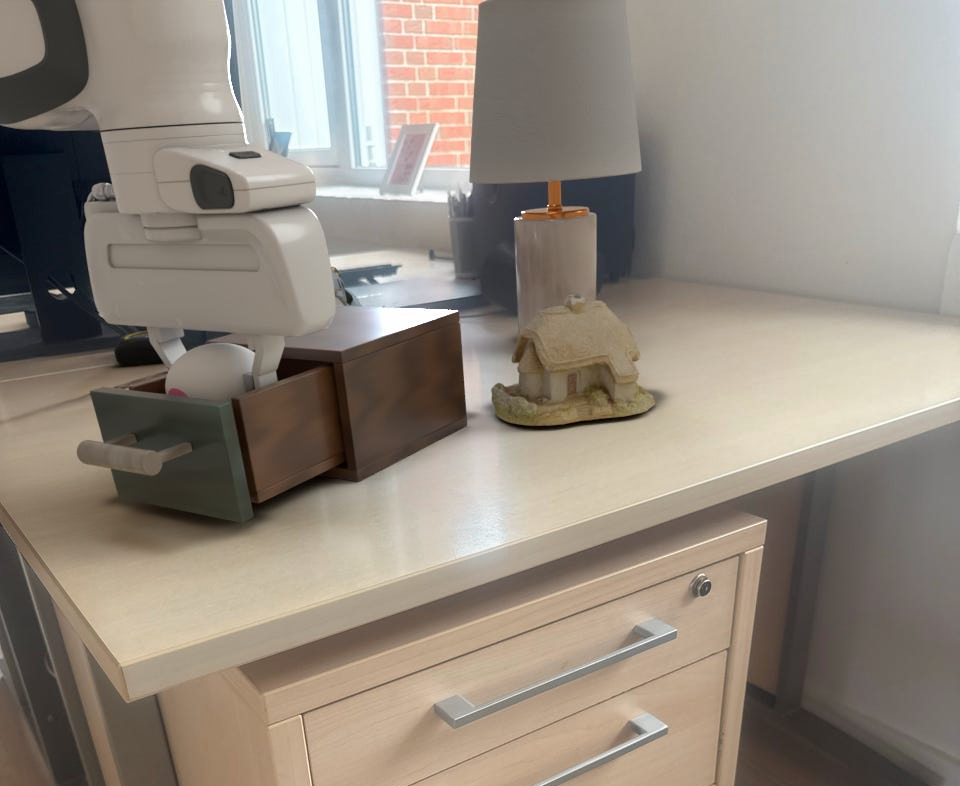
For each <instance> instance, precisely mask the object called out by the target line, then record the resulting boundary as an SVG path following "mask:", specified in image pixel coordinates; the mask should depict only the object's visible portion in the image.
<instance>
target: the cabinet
mask: <svg viewBox="0 0 960 786" xmlns="http://www.w3.org/2000/svg"><path fill="white" fill-rule="evenodd" d="M460 318H461V317H460V310H451V309H449V310H448V309H429V308H428V309H426V308H404V307H403V308H401V307H379V306H363V307H358V306H336V310H335V314H334V316H333V319H332V321H331V323H330V325H329V327H328V328H327V329H325V330H322V331H319V332H316V333H313V334H309V335H305V336H302V337H286V336H284V342H285V346H284V350H283V353H282V356H281V359H292V360H305V361H317V362H329V363H333V365H334V372H335V379H336V386H337V394H338V401H339V408H340V415H341V422H342V429H343V437H344V444H345V451H346V458H347V461H346V462H343V463H341V464H339V465H337V466H335V467H333V468H331V469H329V470H327V471H325V472H323V473H321V474H319V475H318V476H321V477H327V478H333V479H339V480H347V481H352V482H361V481H363V480H364V479H366V478H368V477H370V476H372V475H374V474H376V473H378V472H380V471H382V470H383V469H385V468H388V467H390V466H392V465H393V464H395V463H397V462H399V461H401V460H403V459H405V458H407V457H408V456H409V457H410V456H411V455H412V454H414V453H416V452H419V451H420V450H422V449H424V448H426V447H428V446H430V445H432V444H434V443H435V442H437V441H439V440H441V439H443V438H445V437H447V436H449V435H451V434H453V433H455V432H457V431H458V430H459V431H460V430H461V429H463V428H464V427H466V426H468V416H467V414H468V413H467V400H466V387H465V371H464V359H463V356H464V355H463V344H462V343H463V342H462V330H461V329H462V328H461V319H460ZM211 343H230V344H235V345H239V346H242V347H245V348H247V349H249V348H248V343H247V338H246V334H243V333H230V334H227V335H223V336H222V335H221V336H219V337H215V338H212V339H208V340H206V341H205V345H206V344H211ZM249 350H250V349H249ZM251 351H253V352H254V353H255V350H251Z"/></svg>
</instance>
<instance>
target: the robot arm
mask: <svg viewBox="0 0 960 786" xmlns="http://www.w3.org/2000/svg"><path fill="white" fill-rule="evenodd" d="M231 45H232V40H231V34H230V27H229V23H228V16H227V11H226V7H225V1H224V0H0V126H2V127H5V128H6V127H7V128H12V129H16V130H17V129H18V130H33V131H34V130H45V131H46V130H47V131H54V132H65V131H66V132H67V131H68V132H69V131H70V132H71V131H89V132H93V133H99V134H100V138H101V142H102V145H103V151H104V154H105V158H106V163H107V168H108V172H109V176H110V181H111V183H109V182H99V183H96V184H94V185H93V186H91V192H90V193H89V194H88V196H87V198H86V202H84V205H83V209H84V210H83V211H84V216H85V220H86V221H85V224H84V230H83V237H84V250H85V255H86V257H85V258H86V263H87V269H88V276H89V281H90V287H91V292H92V296H93V301H94V305H95V308H96V310H97V311H98V312H99V314H100V315H101V317H102V318H103V319H104V321H105V323H107V324H110V325H117V326H131V327H145V328H146V331H148V336H149V340H150V343H151V344H152V346H153V347H154V349H155V350H156V352H157V353H158V355H159V356H160V358H161V359H162V361H163V362H164V363H163V364H164V366H165V367H166V368H167V367H168V368H169V369H170V368H171V366H172V365H173V363H174V362H175V361H176V360H177V359H178V358H179V357H180V356H182V355H183V354H184V353H186V352H188V350H186V348H185V345H184V344H183V342H182V339H181V338H184V337H185V331H184V330H189V331H203V332H215V333H216V332H217V333H230V334H233V333H243V334H246V338H247V343H248V348H249V349H250V350H255V356H254V361H253V367H252V372H248V373H245V374H243V378H244V383H245V385H246V387H247V388H246V393H247V392H249V391H252V390H255V389H258V388H261V387H264V386H266V385H269V384H272V383H275V382H278V381H277V374H276V370H277V368H278V365H279V362H280V359H281V356H282V353H283V350H284V346H285V342H284V336H286V337H302V336H305V335H309V334H313V333H316V332H319V331H322V330H325V329H327V328H328V327H329V325H330V323H331V321H332V319H333V316H334V314H335V310H336V302H335V292H334V283H333V277H332V270H331V267H332V265H331V259H330V254H329V249H328V244H327V240H326V239H327V238H326V235H325V231H324V229H323V226H322V223H321V221H320V220H319V218H318V216H317V215H316V213H314V212H313V210H311V209H310V208H309V207H307V206H304V205H306V204H310V203H313V202H314V201H315V199H316V196H317V185H316V179H315V174H314V172H313V170H312V169H311V167H309V166H308V165H306V164H304V163H302V162H299V161H296V160H294V159H292V158H289V157H286V156H284V155H281V154H279V153H276V152H275V151H272V150H270V149H267V148H265V147H263V146H261V145H259V144H256V143H254V142H248V139H247V132H246V127H245V123H244V122H245V121H244V115H243V112H242V110H241V108H240V105H239V103H238V101H237V98H236V96H235V93H234V90H233V89H234V88H233V85H232V81H231V72H230V62H231V61H230V59H231V50H232V49H231V48H232V46H231ZM95 199H96V200H95ZM168 368H167V372H168V371H169V369H168Z"/></svg>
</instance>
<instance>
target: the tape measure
mask: <svg viewBox="0 0 960 786" xmlns="http://www.w3.org/2000/svg"><path fill="white" fill-rule="evenodd" d="M113 352H114V353H113V354H114V358H115V360H116V362H117V363H118V365H119V366H122V367H128V368H129V367H136V366H137V367H138V366H148V365H155V364H157V365H158V364H164V362H163V361H162V359H161V358H160V356H159V355H158V353H157V352H156V350H155V349H154V347H153V346H152V344H151V343H150V340H149V336H148V331H147V330H144V331H137V332H136V331H135V332H131V333H128V334H124V335H123V336H120V337H119V338H118V339H117V342H116V346H115V348H114V351H113Z"/></svg>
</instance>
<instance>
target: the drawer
mask: <svg viewBox="0 0 960 786" xmlns="http://www.w3.org/2000/svg"><path fill="white" fill-rule="evenodd" d="M276 374H277V381H278V382H275V383H272V384H269V385H266V386H264V387H261V388H258V389H255V390H252V391H249V392H247V393H244V394H241V395H238V396H235V397H232V398H231V402H232V404H231V402H227V401H219V400H210V399H202V398H193V397H184V396H176V395H167V394H166V390H165V383H166V377H167V374H164V375H161V376H158V377H154V378H151V379H147V380H143V381H141V382H138V383H135V384H131V385H129V386H128V389H123V388H115V387H107V386H101V387H98V388H94V389H91V390H89V395H90V398H91V402H92V405H93V409H94V412H95V417H96V420H97V423H98V428H99V430H100V435H101V439H102V441H97V440H91V439H84V440H82V441H80V442H79V444H78V445H77V448H76V456H77V458H78V460H79V461H80V463H82V464H85V465H88V466H89V465H90V466H94V467H100V468H106V469H110V472H111V475H112V479H113V483H114V486H115V489H116V494H117V497H118V499H123V500H127V501H128V500H129V501H133V502H138V503H142V504H148V505H152V506H158V507H162V508H166V509H173V510H177V511H182V512H186V513H192V514H196V515H201V516H205V517H211V518H217V519H220V520H224V521H225V520H226V521H230V522H237V523H239V524H240V523H241V524H242V523H245V522H247V521H249V520H251V519H253V518H254V516H255V515H254V512H253V505H252V503H255V504H261V503H263V502H265V501H267V500H270V499H272V498H274V497H276V496H277V495H279V494H282V493H283V492H286V491H288V490H290V489H292V488H294V487H296V486H298V485H300V484H302V483H305V482H307V481H308V480H310V479H312V478H314V477H316V476H317V477H318V476H320V475H319V474H321V473H323V472H325V471H327V470H329V469H331V468H333V467H335V466H337V465H339V464H341V463H343V462H346V461H347V458H346V451H345V444H344V437H343V429H342V422H341V415H340V408H339V401H338V394H337V386H336V379H335V372H334V365H333V363H329V362H317V361H305V360H292V359H280V362H279V365H278V368H277V370H276ZM232 407H233V409H232ZM233 412H234V414H233ZM234 417H235V419H234ZM235 422H236V425H235ZM236 427H237V430H236ZM237 432H238V433H237Z"/></svg>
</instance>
